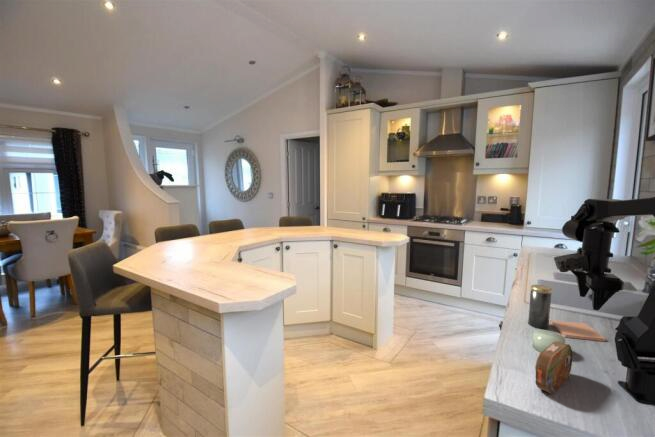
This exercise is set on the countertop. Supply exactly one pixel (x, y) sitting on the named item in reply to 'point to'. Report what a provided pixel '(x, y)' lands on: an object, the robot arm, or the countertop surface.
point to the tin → (553, 366)
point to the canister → (539, 306)
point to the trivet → (577, 330)
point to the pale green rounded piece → (545, 339)
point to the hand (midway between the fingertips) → (588, 303)
